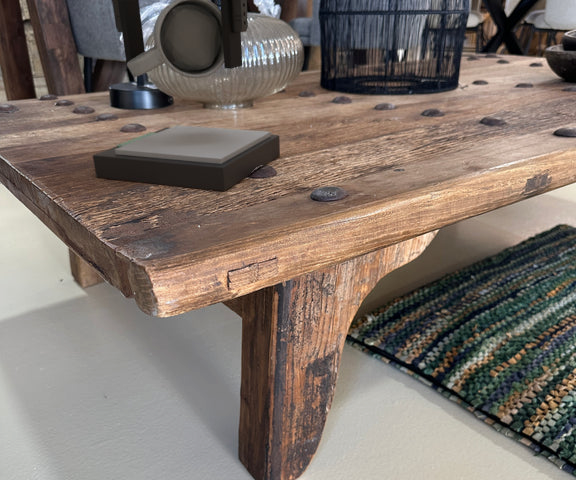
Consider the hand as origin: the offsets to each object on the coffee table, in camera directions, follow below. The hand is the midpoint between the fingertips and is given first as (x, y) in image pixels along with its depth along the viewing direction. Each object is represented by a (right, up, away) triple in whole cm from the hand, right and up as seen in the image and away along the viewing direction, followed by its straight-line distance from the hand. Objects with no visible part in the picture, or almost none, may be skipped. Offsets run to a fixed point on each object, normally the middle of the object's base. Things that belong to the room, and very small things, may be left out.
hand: (183, 66), depth 62 cm
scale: (0, -10, +5) cm, 11 cm away
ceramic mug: (0, -1, +1) cm, 1 cm away
